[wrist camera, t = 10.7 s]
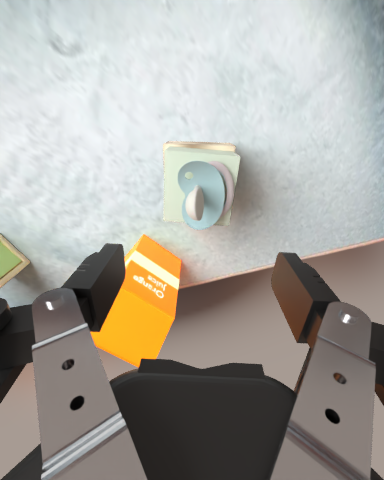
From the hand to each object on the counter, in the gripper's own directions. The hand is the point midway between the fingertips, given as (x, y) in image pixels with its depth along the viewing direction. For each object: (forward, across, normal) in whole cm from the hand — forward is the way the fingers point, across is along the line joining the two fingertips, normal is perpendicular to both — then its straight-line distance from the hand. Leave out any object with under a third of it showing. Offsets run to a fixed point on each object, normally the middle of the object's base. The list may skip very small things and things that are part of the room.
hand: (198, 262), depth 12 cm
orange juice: (+26, +8, +17) cm, 32 cm away
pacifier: (+15, -1, 0) cm, 15 cm away
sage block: (+20, 0, 0) cm, 20 cm away
